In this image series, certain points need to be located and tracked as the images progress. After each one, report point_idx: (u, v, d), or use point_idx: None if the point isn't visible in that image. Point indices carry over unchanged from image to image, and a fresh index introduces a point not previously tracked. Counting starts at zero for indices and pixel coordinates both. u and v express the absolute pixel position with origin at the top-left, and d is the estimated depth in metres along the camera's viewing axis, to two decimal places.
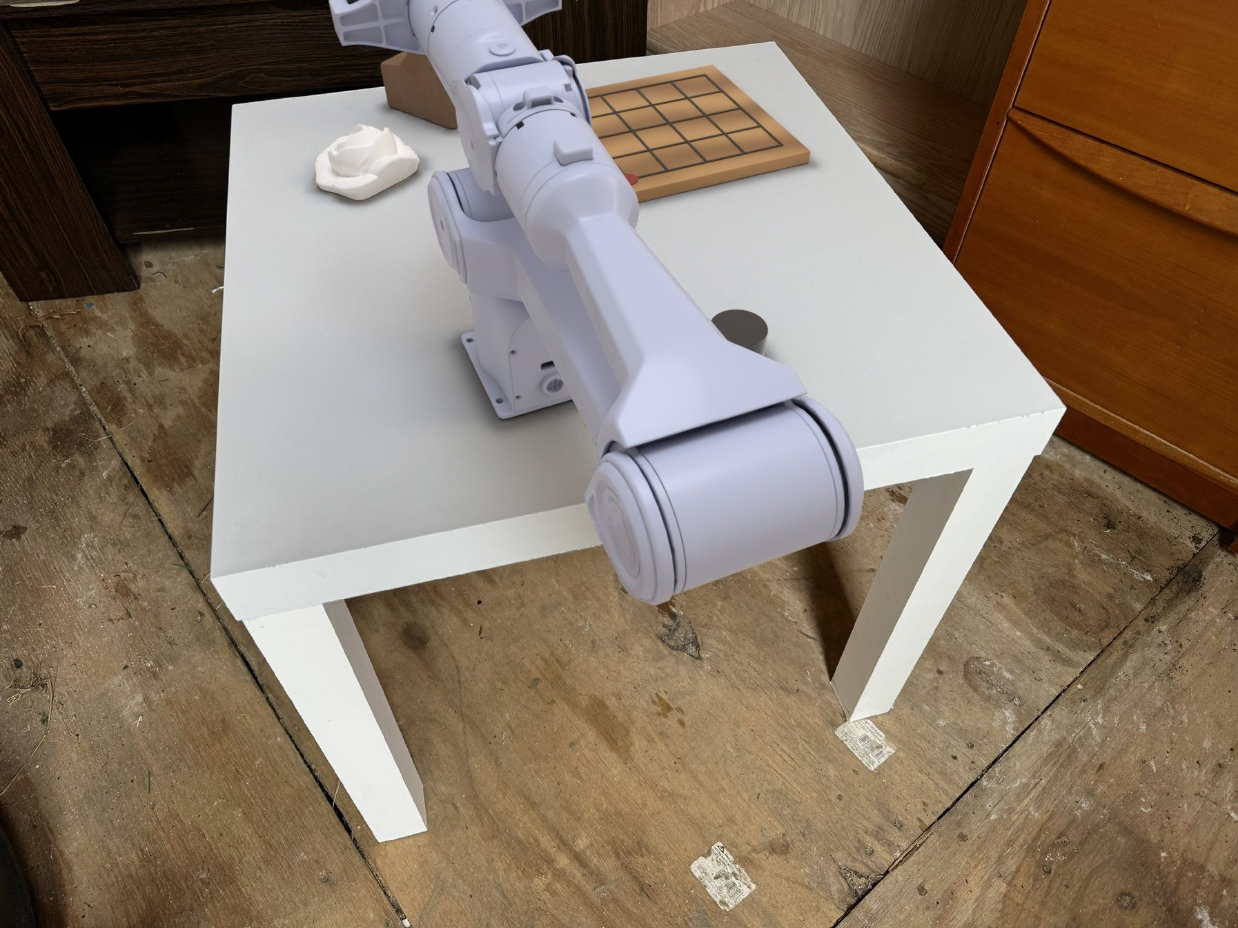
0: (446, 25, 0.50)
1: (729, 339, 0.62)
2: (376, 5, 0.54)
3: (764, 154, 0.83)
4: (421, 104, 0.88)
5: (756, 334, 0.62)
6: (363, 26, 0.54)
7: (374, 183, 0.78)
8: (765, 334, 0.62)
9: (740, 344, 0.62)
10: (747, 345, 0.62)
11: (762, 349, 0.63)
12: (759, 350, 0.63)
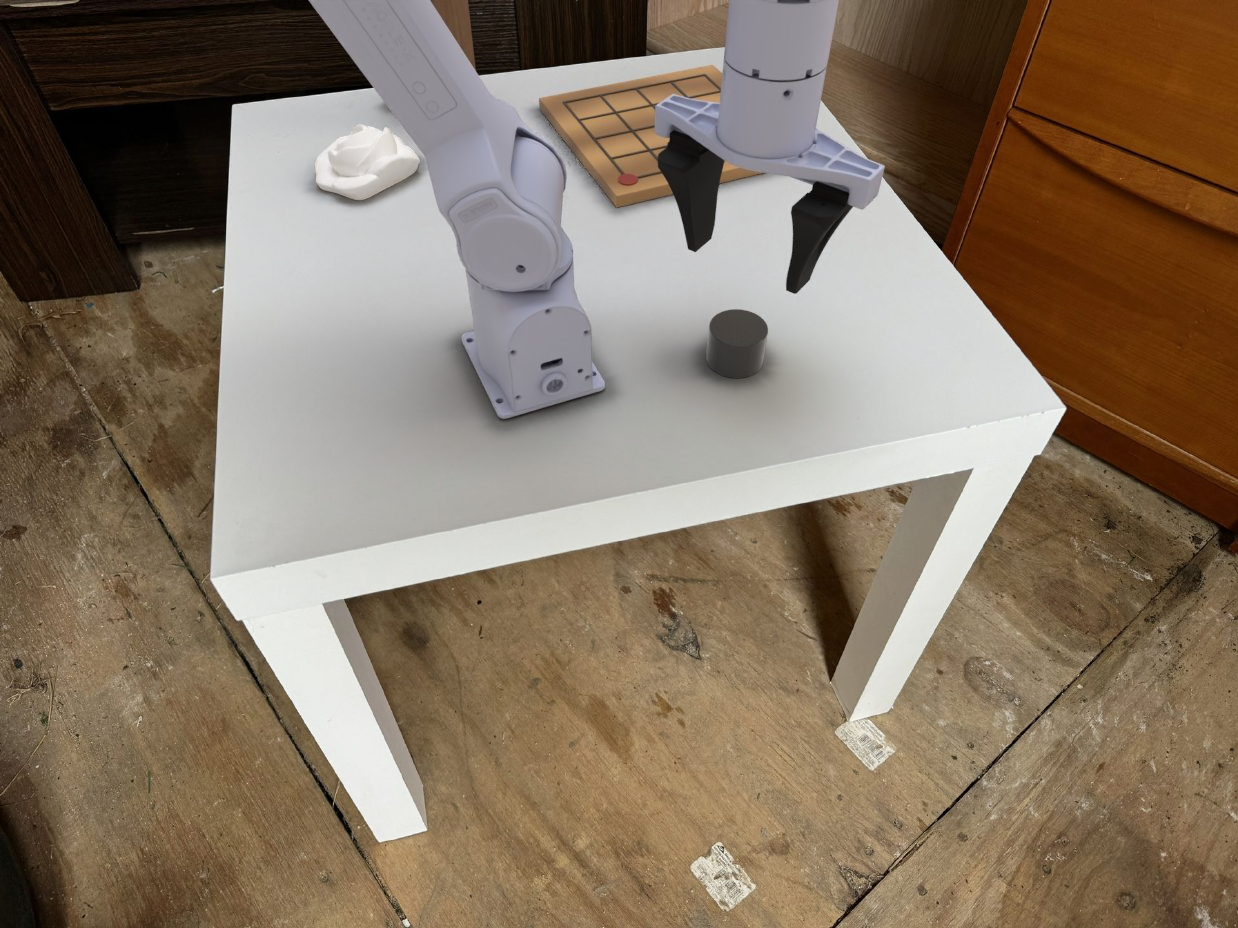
0: None
1: (729, 339, 0.62)
2: None
3: None
4: None
5: (756, 334, 0.62)
6: (684, 106, 0.54)
7: (374, 183, 0.78)
8: (765, 334, 0.62)
9: (740, 344, 0.62)
10: (747, 345, 0.62)
11: (762, 349, 0.63)
12: (759, 350, 0.63)
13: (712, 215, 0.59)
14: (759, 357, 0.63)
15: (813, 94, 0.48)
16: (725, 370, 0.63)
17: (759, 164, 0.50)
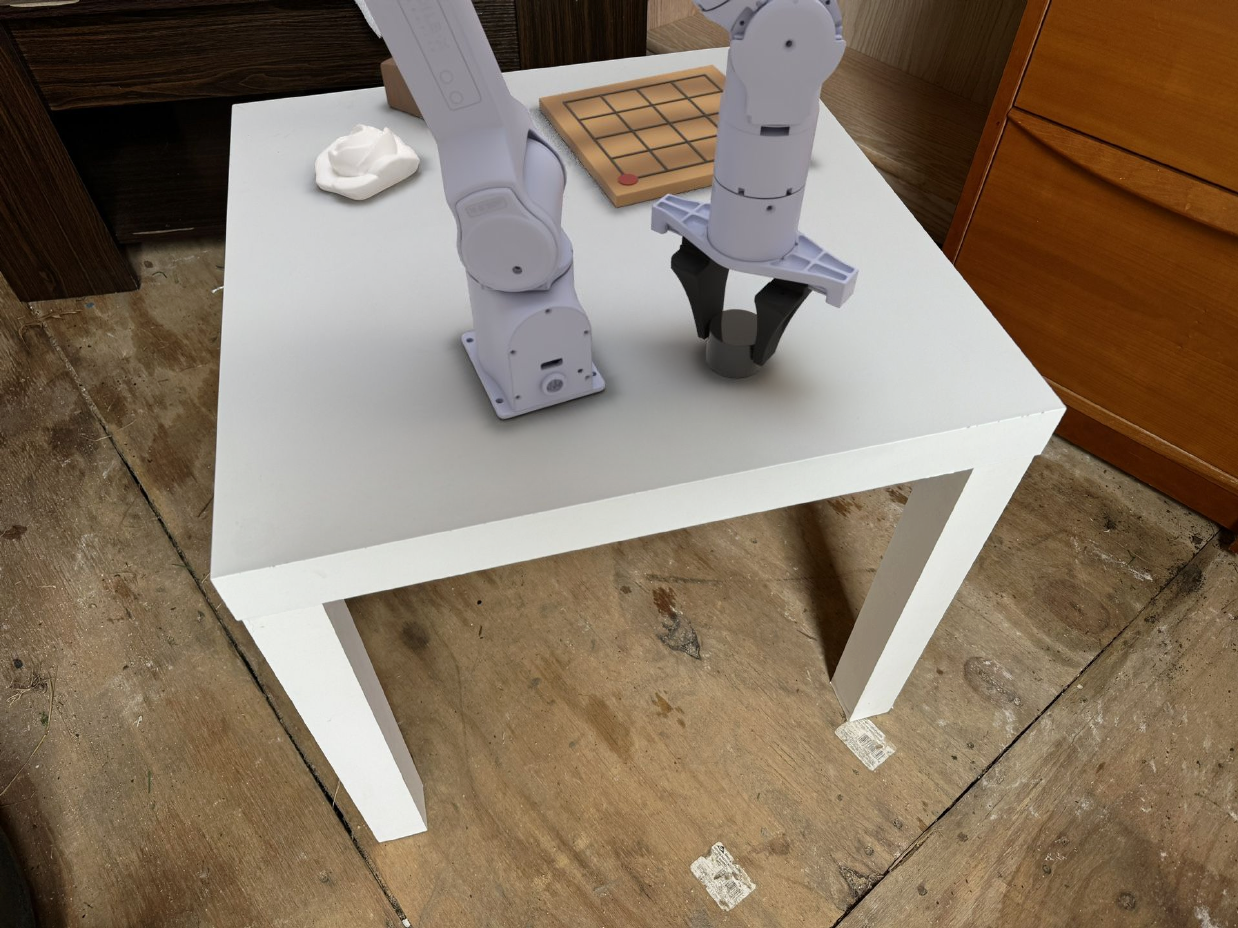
0: None
1: (729, 339, 0.62)
2: None
3: None
4: None
5: (756, 334, 0.62)
6: (678, 207, 0.60)
7: (374, 183, 0.78)
8: None
9: (740, 344, 0.62)
10: (746, 345, 0.62)
11: None
12: None
13: (720, 306, 0.64)
14: None
15: (793, 207, 0.53)
16: (725, 370, 0.63)
17: (745, 266, 0.55)
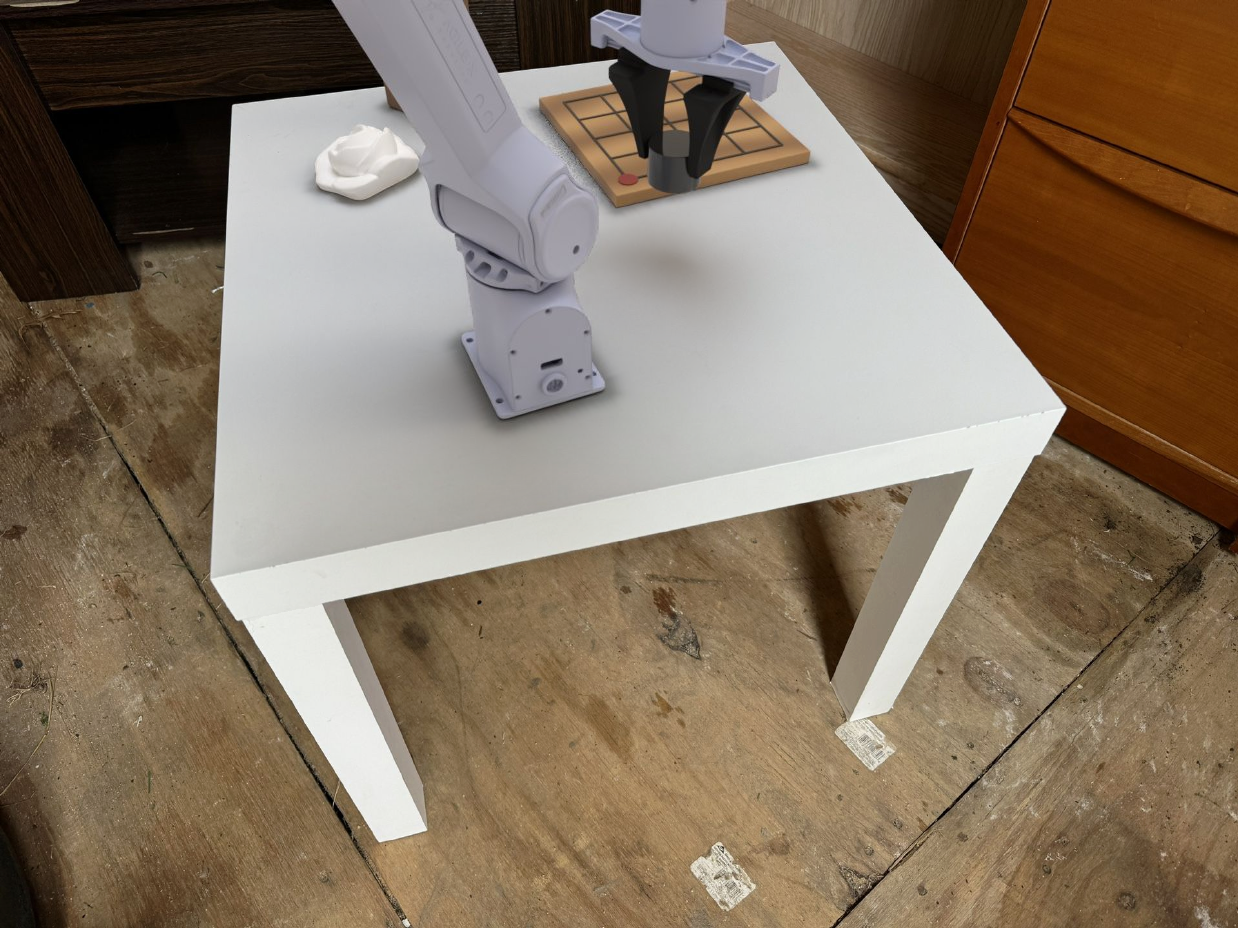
0: None
1: (666, 152, 0.65)
2: None
3: (764, 154, 0.83)
4: None
5: None
6: (615, 19, 0.63)
7: (374, 183, 0.78)
8: None
9: (676, 156, 0.65)
10: (682, 157, 0.65)
11: None
12: None
13: (659, 126, 0.68)
14: None
15: (716, 0, 0.57)
16: (663, 185, 0.67)
17: (673, 63, 0.59)
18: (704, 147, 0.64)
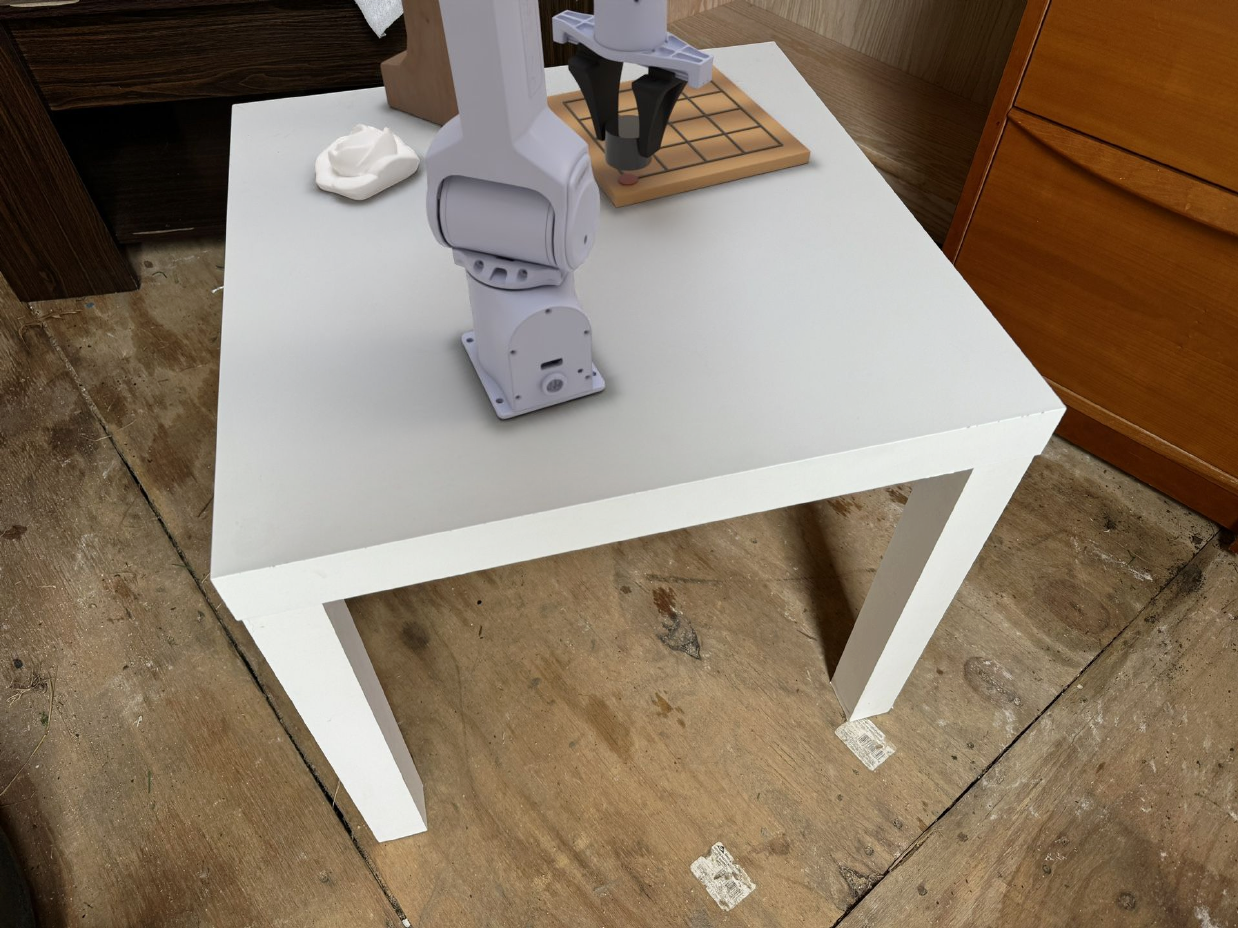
0: None
1: (620, 134, 0.75)
2: None
3: (764, 154, 0.83)
4: (421, 104, 0.88)
5: None
6: (573, 18, 0.72)
7: (374, 183, 0.78)
8: None
9: (628, 137, 0.75)
10: (634, 138, 0.74)
11: None
12: None
13: (615, 112, 0.77)
14: None
15: (657, 1, 0.66)
16: (618, 163, 0.76)
17: (622, 56, 0.68)
18: (652, 130, 0.74)
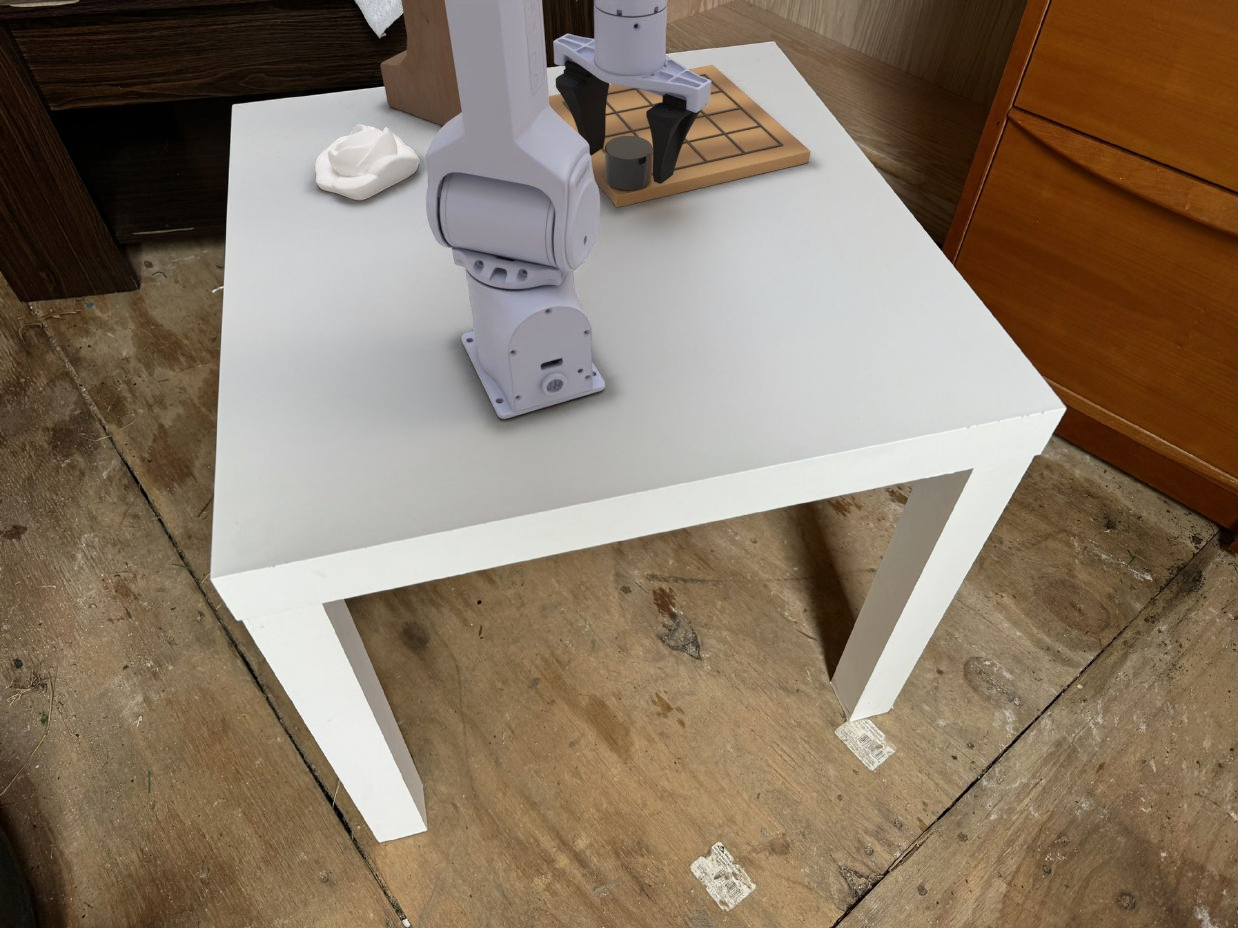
0: None
1: (619, 155, 0.76)
2: (592, 42, 0.74)
3: (764, 154, 0.83)
4: (421, 104, 0.88)
5: (642, 151, 0.77)
6: (574, 42, 0.74)
7: (374, 183, 0.78)
8: (649, 151, 0.77)
9: (628, 158, 0.76)
10: (633, 159, 0.76)
11: (647, 165, 0.77)
12: (644, 164, 0.77)
13: (602, 128, 0.79)
14: (646, 172, 0.78)
15: (656, 27, 0.68)
16: (618, 183, 0.78)
17: (622, 80, 0.70)
18: (666, 156, 0.75)
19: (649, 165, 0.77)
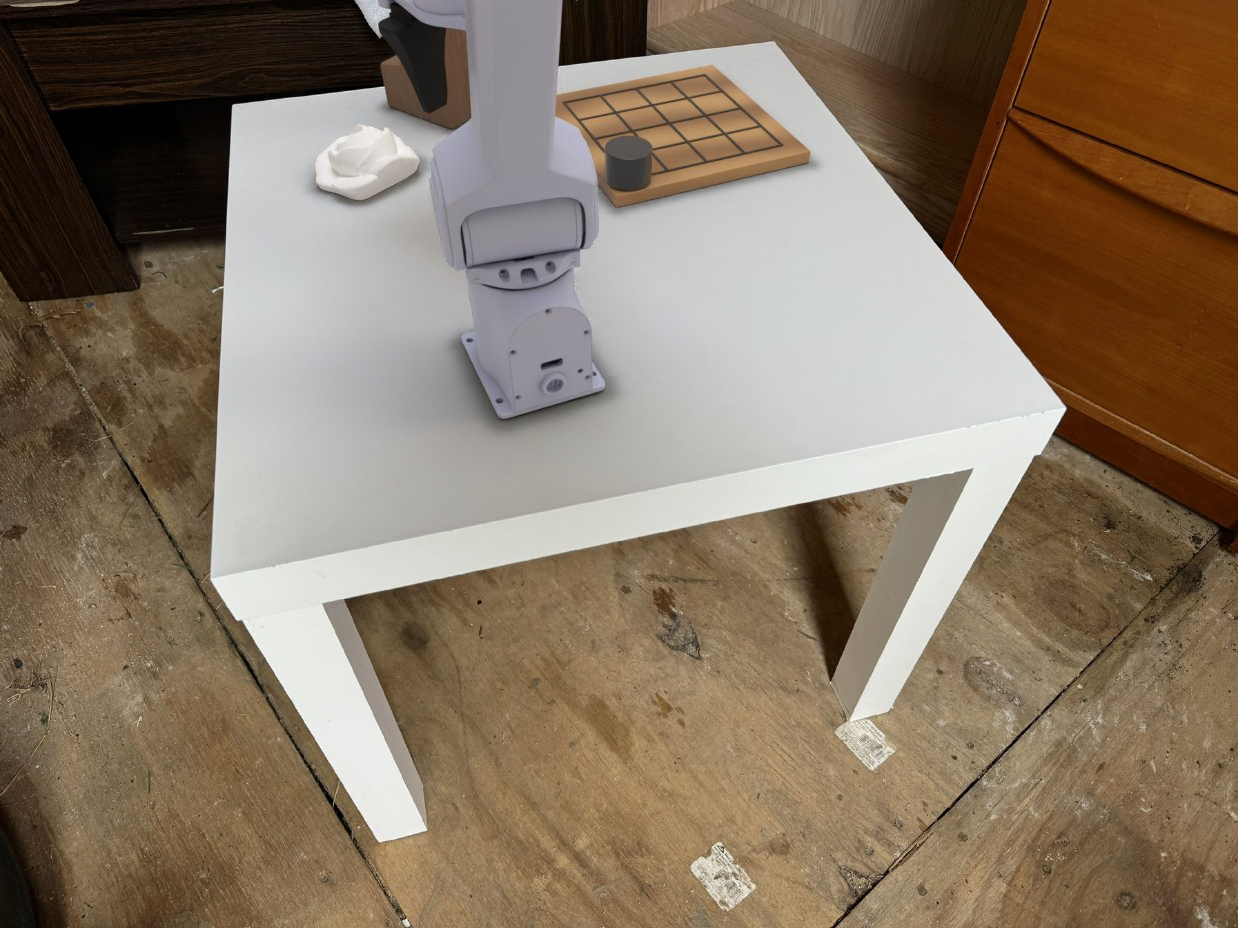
0: None
1: (619, 155, 0.76)
2: None
3: (764, 154, 0.83)
4: None
5: (642, 151, 0.77)
6: None
7: (374, 183, 0.78)
8: (649, 151, 0.77)
9: (628, 158, 0.76)
10: (633, 159, 0.76)
11: (647, 165, 0.77)
12: (644, 164, 0.77)
13: (442, 82, 0.70)
14: (646, 172, 0.78)
15: None
16: (618, 183, 0.78)
17: (440, 20, 0.61)
18: None
19: (649, 165, 0.77)
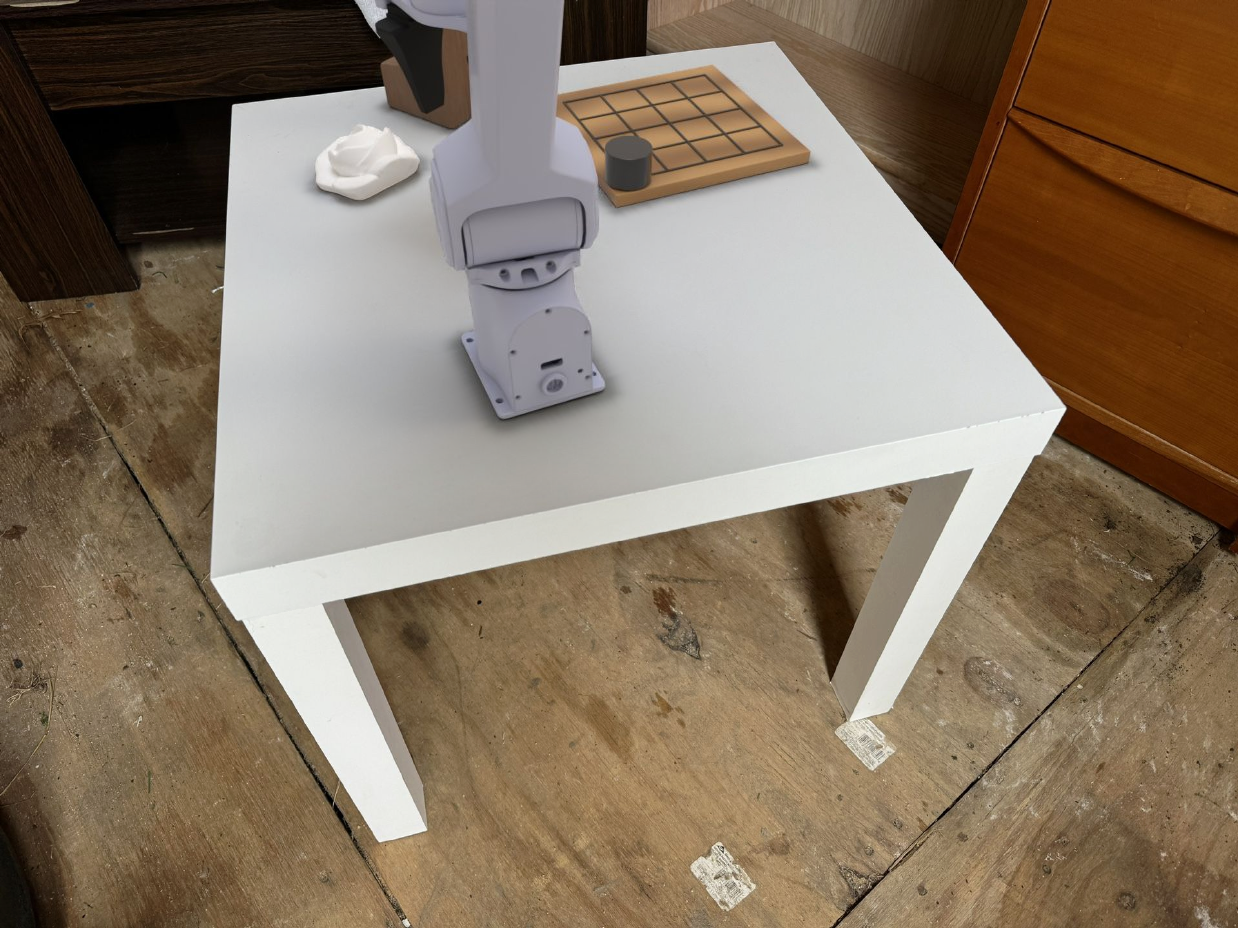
0: None
1: (619, 155, 0.76)
2: None
3: (764, 154, 0.83)
4: None
5: (642, 151, 0.77)
6: None
7: (374, 183, 0.78)
8: (649, 151, 0.77)
9: (628, 158, 0.76)
10: (633, 159, 0.76)
11: (647, 165, 0.77)
12: (644, 164, 0.77)
13: (439, 82, 0.70)
14: (646, 172, 0.78)
15: None
16: (618, 183, 0.78)
17: (437, 20, 0.61)
18: None
19: (649, 165, 0.77)
